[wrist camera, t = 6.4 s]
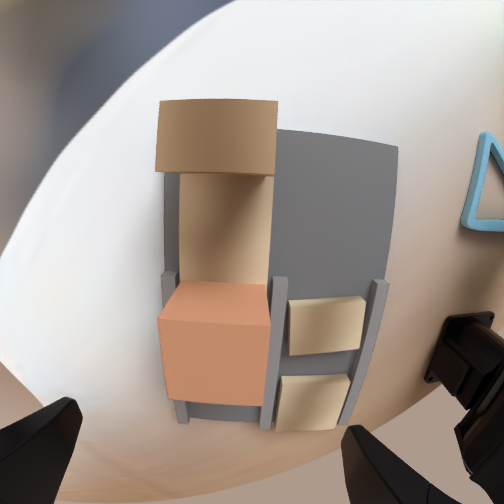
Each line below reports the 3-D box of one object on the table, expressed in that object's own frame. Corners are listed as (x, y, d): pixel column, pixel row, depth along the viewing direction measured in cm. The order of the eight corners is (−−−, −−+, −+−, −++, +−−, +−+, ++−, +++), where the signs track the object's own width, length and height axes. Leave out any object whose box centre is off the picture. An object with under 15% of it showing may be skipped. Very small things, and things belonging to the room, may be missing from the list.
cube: (265, 284, 15) (270, 325, 11) (260, 354, 16) (262, 405, 12) (181, 280, 15) (157, 318, 10) (185, 349, 16) (168, 398, 12)
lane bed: (390, 148, 15) (404, 145, 13) (341, 409, 20) (347, 424, 18) (171, 130, 15) (162, 124, 13) (182, 407, 20) (178, 423, 18)
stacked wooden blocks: (274, 132, 14) (290, 102, 8) (260, 359, 17) (263, 429, 11) (186, 129, 14) (148, 102, 8) (187, 354, 17) (166, 421, 11)
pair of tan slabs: (365, 295, 16) (371, 302, 15) (331, 420, 19) (334, 428, 18) (289, 294, 16) (291, 301, 15) (272, 422, 19) (273, 432, 18)
